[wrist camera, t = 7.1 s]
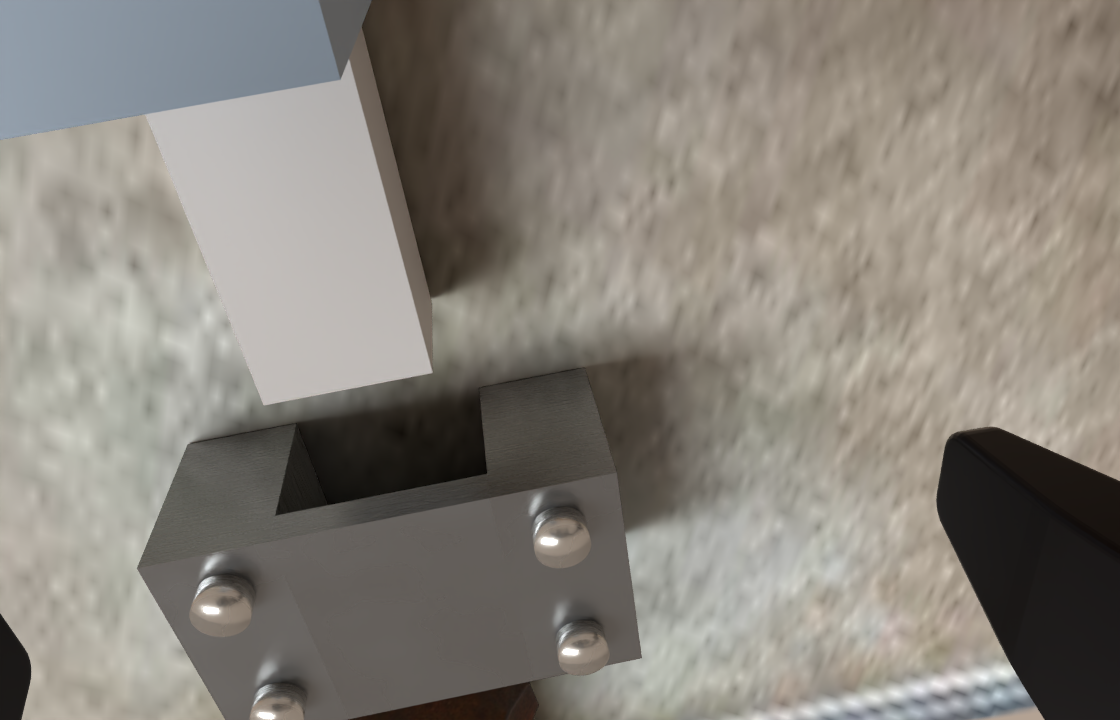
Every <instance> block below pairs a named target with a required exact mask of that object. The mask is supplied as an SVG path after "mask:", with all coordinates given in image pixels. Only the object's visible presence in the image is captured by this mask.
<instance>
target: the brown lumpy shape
mask: <svg viewBox="0 0 1120 720" xmlns="http://www.w3.org/2000/svg"><path fill="white" fill-rule="evenodd" d="M538 706H539V704H538V702H537V700H536V697H535V695H534V692H533V690H532V688H531V685H530V683H529V682H525V683H520V684H515V685H510V686H506V687H501V688H496V689H491V690H487V691H482V692H477V693H472V694H467V695H463V696H458V697H453V698H448V699H443V700H439V701H434V702H429V703H424V704H420V705H415V706H410V707H405V708H400V709H396V710H391V711H386V712H381V713H376V714H372V715H367V716H362V717H357V718H353V719H348V720H533V718H534V716H535V713H536V711H537V708H538Z"/></svg>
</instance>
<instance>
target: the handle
mask: <svg viewBox="0 0 1120 720" xmlns="http://www.w3.org/2000/svg"><path fill="white" fill-rule="evenodd" d="M371 1H372V0H0V140H3V139H9V138H14V137H20V136H26V135H31V134H37V133H43V132H48V131H54V130H60V129H65V128H71V127H76V126H82V125H88V124H93V123H99V122H105V121H110V120H116V119H122V118H127V117H133V116H139V115H144V114H145V115H146V118H147V120H148V123H149V125H150V128H151V130H152V132H153V135H154V137H155V140H156V142H157V145H158V147H159V150H160V152H161V154H162V157H163V159H164V162H165V164H166V167H167V169H168V172H169V174H170V177H171V179H172V181H173V184H174V186H175V189H176V191H177V194H178V196H179V199H180V201H181V204H182V206H183V208H184V211H185V213H186V216H187V218H188V221H189V223H190V226H191V228H192V230H193V233H194V235H195V238H196V240H197V243H198V245H199V248H200V250H201V253H202V255H203V257H204V260H205V262H206V265H207V267H208V270H209V272H210V275H211V277H212V280H213V282H214V284H215V287H216V289H217V292H218V294H219V297H220V299H221V302H222V304H223V306H224V309H225V311H226V314H227V316H228V319H229V321H230V324H231V326H232V329H233V331H234V333H235V336H236V338H237V341H238V343H239V346H240V348H241V351H242V353H243V356H244V358H245V360H246V363H247V365H248V368H249V370H250V373H251V375H252V378H253V380H254V382H255V385H256V387H257V390H258V392H259V395H260V397H261V400H262V402H263V405H269V404H274V403H279V402H284V401H290V400H295V399H300V398H305V397H310V396H316V395H321V394H326V393H331V392H336V391H342V390H347V389H352V388H357V387H362V386H368V385H373V384H378V383H383V382H388V381H394V380H399V379H404V378H409V377H414V376H420V375H425V374H430V373H433V344H432V302H431V298H430V294H429V290H428V286H427V282H426V278H425V274H424V270H423V266H422V262H421V258H420V255H419V251H418V247H417V243H416V239H415V235H414V231H413V227H412V223H411V219H410V215H409V211H408V207H407V203H406V199H405V195H404V191H403V188H402V184H401V180H400V176H399V172H398V168H397V164H396V160H395V156H394V152H393V148H392V144H391V140H390V136H389V132H388V128H387V124H386V121H385V117H384V113H383V109H382V105H381V101H380V97H379V93H378V89H377V85H376V81H375V77H374V73H373V69H372V65H371V61H370V57H369V53H368V50H367V46H366V42H365V38H364V34H363V30H362V24H363V22H364V19H365V16H366V14H367V11H368V9H369V6H370V4H371Z"/></svg>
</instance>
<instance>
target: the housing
mask: <svg viewBox="0 0 1120 720" xmlns="http://www.w3.org/2000/svg"><path fill="white" fill-rule="evenodd" d="M479 393H480V403H481V413H482V424H483V434H484V445H485V455H486V466H487V474H484V475H479V476H474V477H468V478H463V479H458V480H453V481H448V482H443V483H438V484H433V485H428V486H423V487H418V488H413V489H408V490H403V491H398V492H393V493H388V494H383V495H378V496H372V497H367V498H362V499H357V500H352V501H347V502H342V503H337V504H332V505H328V503H327V501H326V498H325V496H324V493H323V491H322V488H321V485H320V483H319V480H318V478H317V475H316V473H315V470H314V467H313V465H312V462H311V460H310V457H309V454H308V452H307V449H306V447H305V444H304V442H303V439H302V436H301V434H300V431H299V429H298V426H297V423H296V424H291V425H286V426H280V427H275V428H270V429H265V430H260V431H255V432H250V433H244V434H239V435H234V436H229V437H224V438H219V439H213V440H208V441H203V442H198V443H193V444H188V445H187V447H186V450H185V452H184V455H183V457H182V460H181V462H180V465H179V467H178V469H177V472H176V474H175V477H174V479H173V482H172V484H171V487H170V489H169V491H168V494H167V496H166V499H165V501H164V504H163V506H162V508H161V511H160V513H159V516H158V518H157V521H156V523H155V526H154V528H153V530H152V533H151V535H150V538H149V540H148V543H147V545H146V548H145V550H144V552H143V555H142V557H141V560H140V562H139V565H138V567H137V569H138V571H139V573H140V574H141V576H142V578H143V580H144V581H145V583H146V585H147V586H148V588H149V590H150V592H151V593H152V595H153V597H154V598H155V600H156V602H157V603H158V605H159V607H160V609H161V610H162V612H163V614H164V615H165V617H166V619H167V621H168V622H169V624H170V626H171V627H172V629H173V631H174V633H175V634H176V636H177V638H178V639H179V641H180V643H181V645H182V646H183V648H184V650H185V651H186V653H187V655H188V657H189V658H190V660H191V662H192V663H193V665H194V667H195V668H196V670H197V672H198V674H199V675H200V677H201V679H202V680H203V682H204V684H205V686H206V687H207V689H208V691H209V692H210V694H211V696H212V698H213V699H214V701H215V703H216V704H217V706H218V708H219V710H220V711H221V713H222V715H223V716H224V718H225V720H348V719H353V718H357V717H362V716H367V715H372V714H376V713H381V712H386V711H391V710H396V709H400V708H405V707H410V706H415V705H420V704H424V703H429V702H434V701H439V700H443V699H448V698H453V697H458V696H463V695H467V694H472V693H477V692H482V691H487V690H491V689H496V688H501V687H506V686H510V685H515V684H520V683H525V682H530V681H534V680H539V679H544V678H549V677H554V676H558V675H563V674H568V673H569V674H572V675H588V674H591V673H594V672H596V671H598V670H600V669H601V668H603V667H604V666H606V665H611V664H616V663H621V662H625V661H630V660H635V659H640V658H642V656H641V648H640V641H639V633H638V626H637V619H636V611H635V604H634V596H633V589H632V581H631V574H630V566H629V559H628V552H627V544H626V537H625V529H624V522H623V514H622V507H621V500H620V492H619V485H618V477H617V471H616V468H615V465H614V462H613V458H612V455H611V452H610V449H609V445H608V442H607V439H606V436H605V432H604V429H603V426H602V422H601V419H600V416H599V413H598V409H597V406H596V403H595V400H594V396H593V393H592V390H591V387H590V383H589V380H588V377H587V373H586V370H585V368H580V369H575V370H570V371H565V372H559V373H554V374H549V375H544V376H539V377H534V378H528V379H523V380H518V381H513V382H508V383H503V384H497V385H492V386H487V387H482V388H479Z"/></svg>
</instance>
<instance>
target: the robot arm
mask: <svg viewBox="0 0 1120 720" xmlns="http://www.w3.org/2000/svg"><path fill="white" fill-rule="evenodd" d="M936 502H937V511H938V515H939V518H940V521H941V523H942V526H943V528H944V530H945V532H946V534H947V536H948V538H949V540H950V542H951V544H952V546H953V548H954V550H955V552H956V554H957V556H958V559H959V561H960V563H961V565H962V567H963V569H964V571H965V573H966V575H967V577H968V579H969V581H970V583H971V585H972V587H973V589H974V591H975V594H976V596H977V598H978V600H979V602H980V604H981V606H982V608H983V610H984V612H985V614H986V616H987V618H988V620H989V622H990V624H991V626H992V628H993V631H994V633H995V635H996V637H997V639H998V641H999V643H1000V645H1001V646H1002V648H1003V650H1004V652H1005V654H1006V656H1007V658H1008V660H1009V662H1010V664H1011V665H1012V667H1013V669H1014V670H1015V672H1016V674H1017V676H1018V677H1019V679H1020V681H1021V682H1022V684H1023V686H1024V687H1025V689H1026V691H1027V692H1028V694H1029V695H1030V697H1031V699H1032V700H1033V702H1034V703H1035V705H1036V707H1037V708H1038V710H1039V711H1040V713H1041V714H1042V716H1043V718H1044V719H1045V720H1120V481H1118V480H1116V479H1114V478H1112V477H1109V476H1107V475H1105V474H1102V473H1100V472H1098V471H1096V470H1093V469H1091V468H1089V467H1087V466H1084V465H1082V464H1080V463H1077V462H1075V461H1073V460H1071V459H1068V458H1066V457H1064V456H1062V455H1059V454H1057V453H1055V452H1053V451H1050V450H1048V449H1046V448H1043V447H1041V446H1039V445H1037V444H1034V443H1032V442H1030V441H1028V440H1025V439H1023V438H1021V437H1019V436H1016V435H1014V434H1012V433H1009V432H1007V431H1005V430H1002V429H1000V428H997V427H983V428H977V429H971V430H966V431H960V432H956V433H954V434H952V435H951V436H950V437H949V438H948V440H947V442H946V445H945V449H944V455H943V461H942V467H941V473H940V479H939V485H938V490H937V499H936ZM30 680H31V664H30V659H29V656H28V653H27V652H26V650H25V648H24V647H23V646H22V644H21V643H20V641H19V640H18V638H17V637H16V635H15V634H14V633H13V631H12V630H11V628H10V627H9V625H8V624H7V622H6V621H5V620H4V618H3V617H2V615H1V614H0V720H21V719H22V714H23V710H24V706H25V702H26V698H27V694H28V690H29V685H30Z"/></svg>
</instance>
